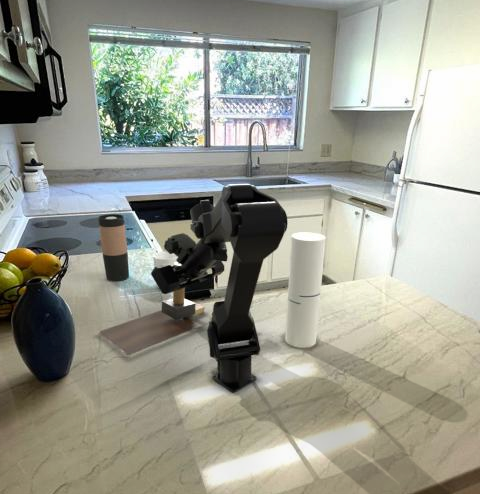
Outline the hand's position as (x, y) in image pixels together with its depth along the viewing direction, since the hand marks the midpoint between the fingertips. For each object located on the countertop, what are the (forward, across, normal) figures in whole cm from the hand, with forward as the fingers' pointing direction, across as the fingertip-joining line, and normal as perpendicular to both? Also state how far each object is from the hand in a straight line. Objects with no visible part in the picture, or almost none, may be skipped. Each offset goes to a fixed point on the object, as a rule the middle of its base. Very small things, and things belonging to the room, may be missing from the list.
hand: (175, 287), depth 100 cm
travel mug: (+33, -6, -20) cm, 39 cm away
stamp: (+4, +1, +6) cm, 7 cm away
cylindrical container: (-14, -13, +27) cm, 33 cm away
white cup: (+20, -13, -8) cm, 25 cm away
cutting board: (+6, +9, +7) cm, 13 cm away
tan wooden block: (+5, -4, +7) cm, 10 cm away
